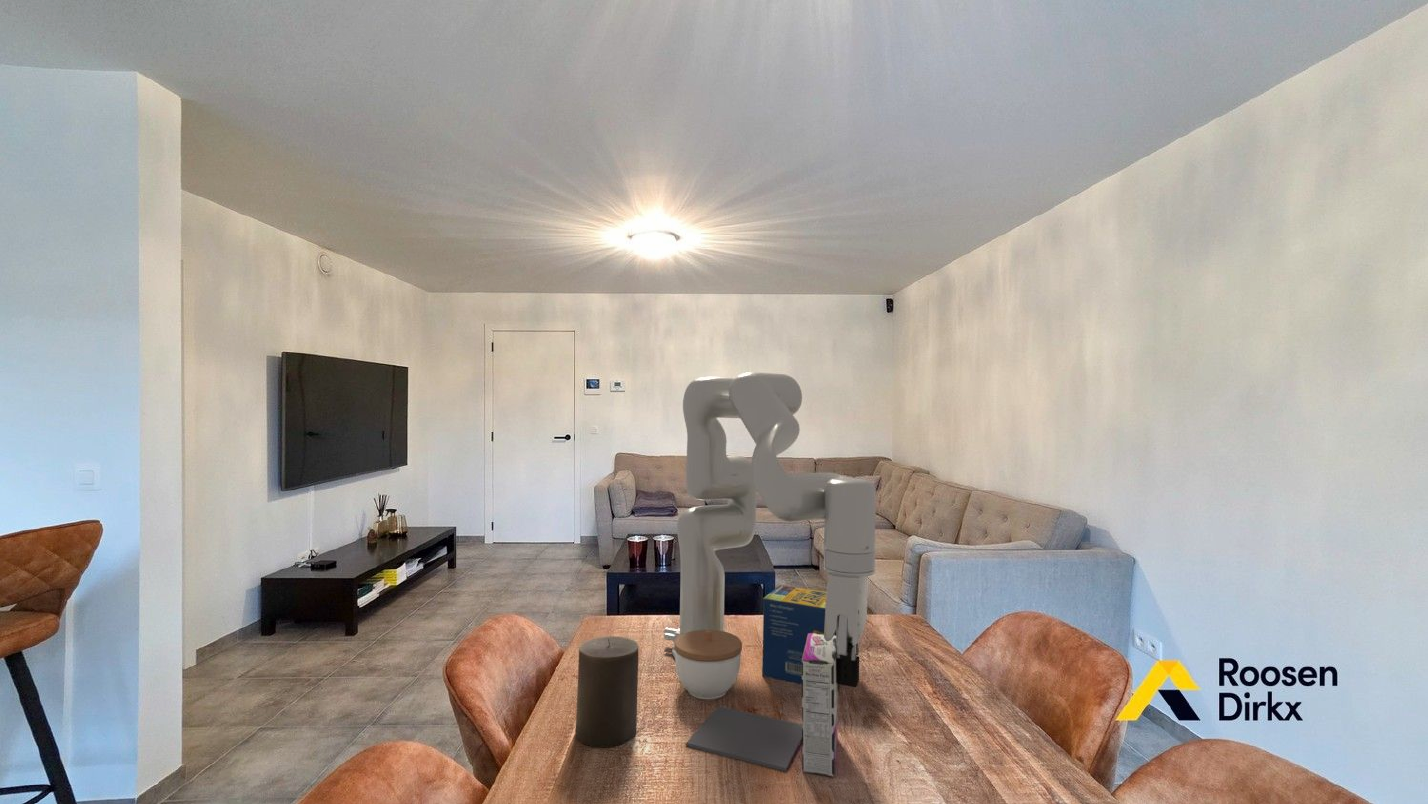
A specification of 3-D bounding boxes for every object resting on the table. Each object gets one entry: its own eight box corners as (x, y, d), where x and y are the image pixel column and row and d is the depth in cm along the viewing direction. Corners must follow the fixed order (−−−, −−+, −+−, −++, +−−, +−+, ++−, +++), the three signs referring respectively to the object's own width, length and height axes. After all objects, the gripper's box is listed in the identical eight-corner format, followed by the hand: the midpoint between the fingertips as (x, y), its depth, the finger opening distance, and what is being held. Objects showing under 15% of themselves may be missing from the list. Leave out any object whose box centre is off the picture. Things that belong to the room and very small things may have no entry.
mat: (686, 745, 92) (686, 742, 92) (718, 708, 104) (718, 705, 104) (786, 771, 86) (786, 768, 86) (808, 728, 98) (808, 725, 98)
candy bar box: (806, 733, 96) (807, 631, 97) (838, 737, 95) (838, 634, 96) (799, 773, 86) (800, 658, 86) (834, 778, 84) (835, 662, 85)
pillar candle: (610, 754, 89) (614, 654, 90) (562, 736, 94) (566, 640, 95) (648, 726, 98) (651, 634, 98) (602, 711, 103) (605, 623, 103)
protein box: (777, 657, 127) (779, 584, 127) (850, 671, 120) (851, 594, 121) (760, 676, 117) (761, 597, 118) (838, 693, 111) (839, 609, 111)
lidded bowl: (747, 704, 106) (748, 642, 106) (677, 709, 104) (678, 645, 104) (733, 674, 118) (734, 618, 118) (670, 677, 116) (671, 620, 116)
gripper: (834, 548, 98) (832, 660, 98) (813, 569, 84) (811, 700, 84) (880, 553, 95) (879, 668, 95) (867, 575, 81) (865, 711, 81)
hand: (847, 683), depth 89 cm, fingers closed
